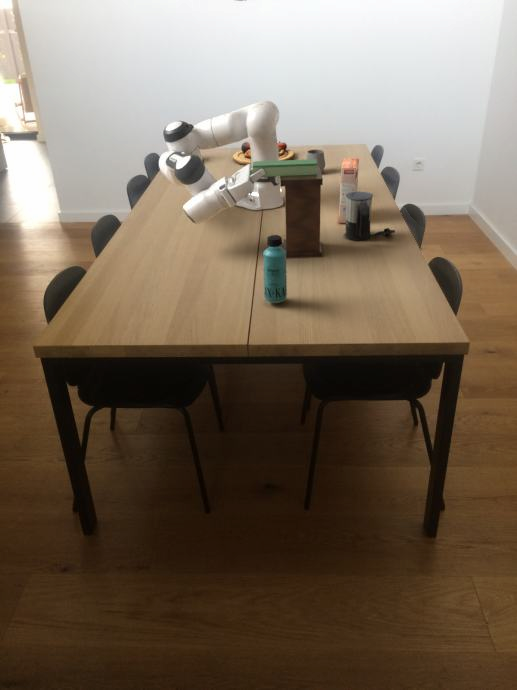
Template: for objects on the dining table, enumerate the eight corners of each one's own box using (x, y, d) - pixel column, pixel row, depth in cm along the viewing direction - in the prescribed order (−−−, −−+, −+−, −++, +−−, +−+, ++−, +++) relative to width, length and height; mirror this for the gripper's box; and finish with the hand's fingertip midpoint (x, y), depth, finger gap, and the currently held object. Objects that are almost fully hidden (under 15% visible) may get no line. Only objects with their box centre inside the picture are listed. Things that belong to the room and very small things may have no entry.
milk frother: (339, 234, 207) (340, 193, 199) (376, 226, 212) (379, 186, 204) (360, 247, 196) (363, 205, 188) (399, 239, 201) (403, 197, 193)
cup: (328, 171, 275) (329, 150, 269) (319, 176, 268) (319, 154, 263) (311, 169, 279) (311, 148, 274) (301, 174, 273) (301, 152, 267)
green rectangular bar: (253, 177, 181) (252, 165, 179) (253, 172, 185) (253, 161, 183) (316, 174, 180) (317, 163, 178) (316, 170, 184) (316, 159, 182)
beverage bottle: (263, 298, 168) (260, 233, 157) (286, 296, 168) (284, 231, 157) (265, 308, 162) (262, 242, 151) (289, 307, 162) (288, 240, 152)
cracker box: (354, 224, 215) (357, 167, 203) (338, 223, 216) (340, 167, 205) (356, 211, 226) (359, 157, 215) (341, 211, 227) (343, 157, 216)
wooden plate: (274, 170, 281) (273, 152, 277) (220, 163, 296) (219, 146, 291) (305, 154, 304) (305, 138, 299) (253, 148, 318) (253, 133, 314)
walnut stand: (282, 258, 191) (280, 180, 177) (281, 243, 202) (279, 168, 188) (322, 257, 191) (323, 178, 177) (319, 242, 202) (320, 167, 188)
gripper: (235, 189, 196) (269, 167, 192) (231, 209, 179) (269, 185, 175) (224, 173, 193) (259, 151, 189) (220, 192, 176) (258, 168, 172)
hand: (264, 167), depth 182 cm, fingers closed on green rectangular bar, 4 cm apart
